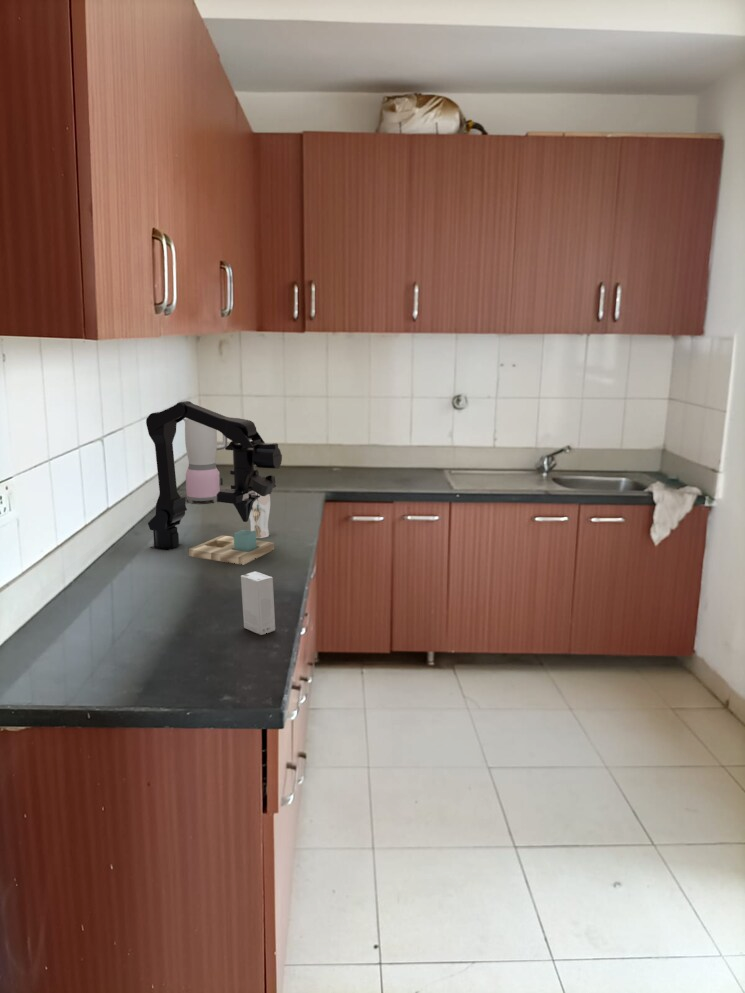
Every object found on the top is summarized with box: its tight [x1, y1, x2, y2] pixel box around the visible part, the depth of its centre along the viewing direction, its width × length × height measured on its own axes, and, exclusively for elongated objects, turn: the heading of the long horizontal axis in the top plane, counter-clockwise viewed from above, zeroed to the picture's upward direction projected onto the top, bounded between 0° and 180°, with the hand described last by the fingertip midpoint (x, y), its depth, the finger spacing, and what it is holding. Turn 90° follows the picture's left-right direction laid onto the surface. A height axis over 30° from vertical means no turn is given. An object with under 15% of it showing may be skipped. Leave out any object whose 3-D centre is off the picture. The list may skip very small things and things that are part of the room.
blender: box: [182, 418, 228, 504], centre depth 276 cm, size 16×12×32 cm
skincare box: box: [240, 570, 276, 636], centre depth 160 cm, size 6×4×12 cm
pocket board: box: [188, 534, 275, 566], centre depth 213 cm, size 18×16×2 cm
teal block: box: [233, 529, 258, 552], centre depth 211 cm, size 4×4×6 cm
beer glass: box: [249, 492, 271, 539], centre depth 230 cm, size 7×7×15 cm
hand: (245, 521), depth 210 cm, fingers closed
